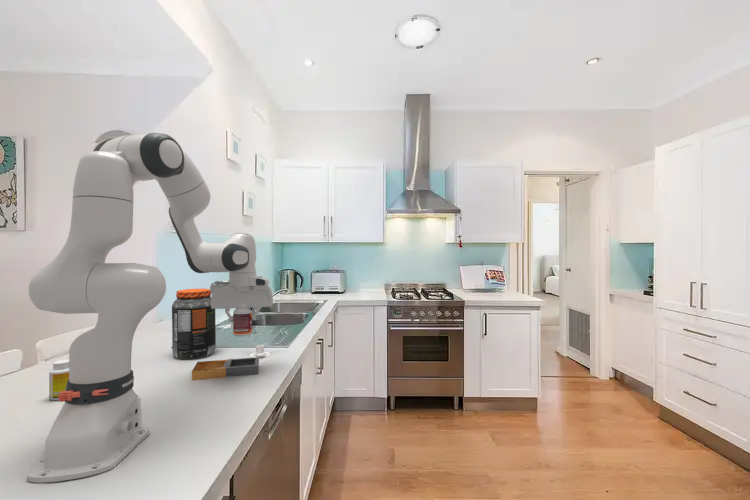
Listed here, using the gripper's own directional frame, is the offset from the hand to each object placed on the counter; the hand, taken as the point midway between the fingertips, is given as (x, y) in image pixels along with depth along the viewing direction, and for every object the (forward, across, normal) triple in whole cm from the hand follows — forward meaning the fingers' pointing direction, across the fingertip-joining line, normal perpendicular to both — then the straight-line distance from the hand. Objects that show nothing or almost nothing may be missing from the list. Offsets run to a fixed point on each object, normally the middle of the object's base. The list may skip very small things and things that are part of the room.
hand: (242, 320), depth 129 cm
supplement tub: (+17, -20, +27) cm, 38 cm away
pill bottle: (+5, 0, 0) cm, 5 cm away
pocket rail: (+17, -5, 0) cm, 18 cm away
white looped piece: (+18, +3, +18) cm, 26 cm away
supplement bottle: (+18, -48, -10) cm, 52 cm away
